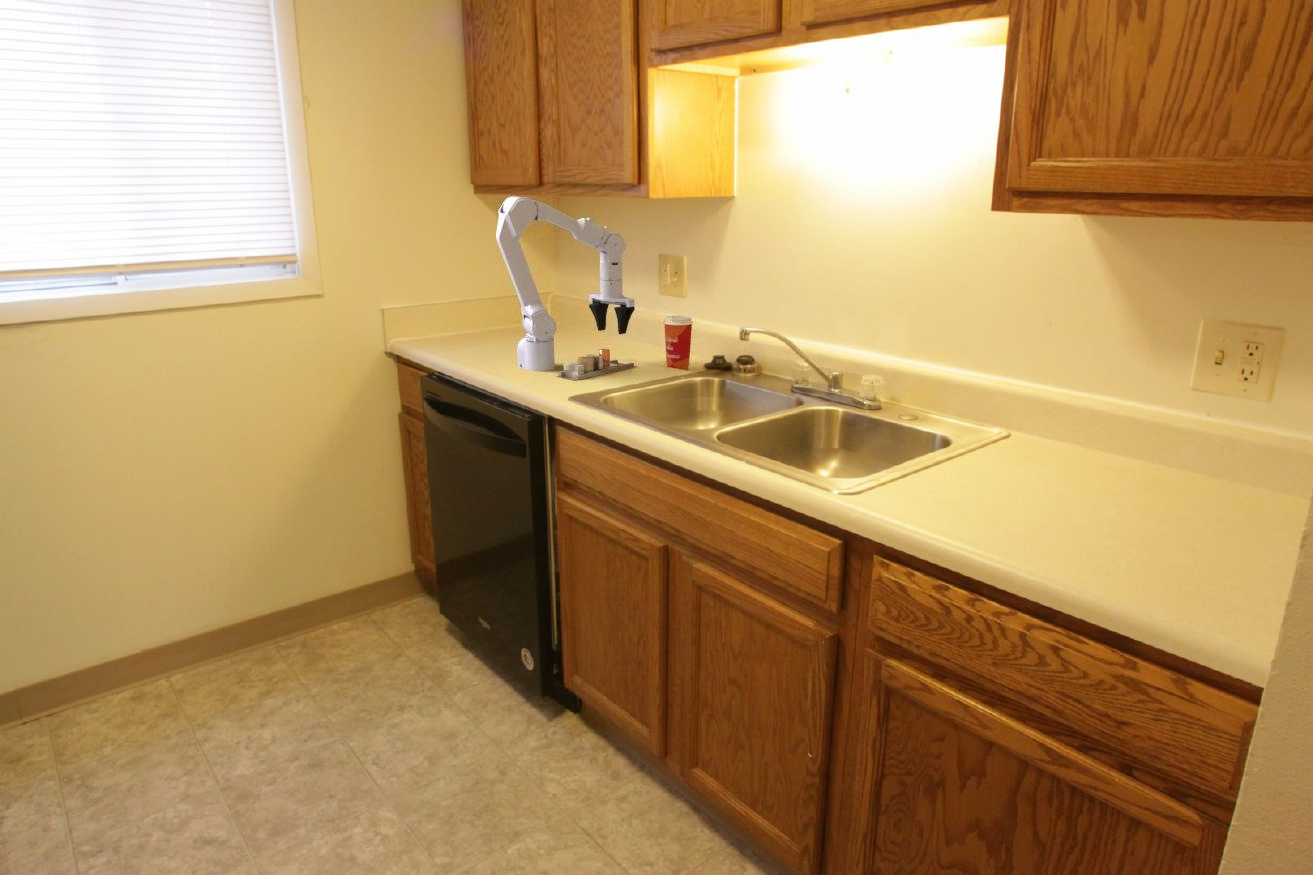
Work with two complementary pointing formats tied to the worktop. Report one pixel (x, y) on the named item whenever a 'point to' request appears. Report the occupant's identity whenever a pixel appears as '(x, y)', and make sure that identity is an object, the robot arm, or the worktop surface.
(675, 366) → the paper cup
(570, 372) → the grey tray
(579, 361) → the tan cylinder
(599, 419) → the worktop surface
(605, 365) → the press jaw
